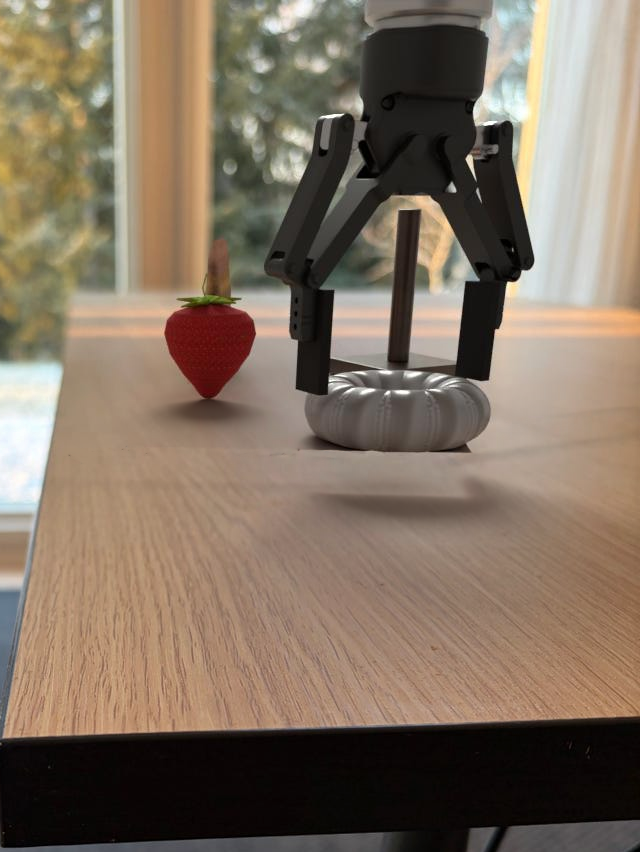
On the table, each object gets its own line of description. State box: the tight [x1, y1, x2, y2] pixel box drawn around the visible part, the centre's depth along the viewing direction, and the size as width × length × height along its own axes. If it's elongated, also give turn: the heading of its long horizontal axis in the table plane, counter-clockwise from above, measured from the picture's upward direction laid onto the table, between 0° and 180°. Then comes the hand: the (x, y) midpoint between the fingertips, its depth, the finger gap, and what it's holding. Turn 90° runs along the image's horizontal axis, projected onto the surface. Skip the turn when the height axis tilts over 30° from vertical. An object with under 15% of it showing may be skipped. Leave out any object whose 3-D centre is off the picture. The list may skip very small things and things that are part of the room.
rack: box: [329, 208, 468, 380], centre depth 96 cm, size 9×9×14 cm
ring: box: [303, 370, 492, 454], centre depth 73 cm, size 12×12×4 cm
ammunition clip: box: [204, 236, 232, 307], centre depth 100 cm, size 11×2×12 cm, turn 172°
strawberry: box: [163, 272, 257, 400], centre depth 86 cm, size 6×8×10 cm
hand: (394, 385), depth 72 cm, fingers open, 13 cm apart
